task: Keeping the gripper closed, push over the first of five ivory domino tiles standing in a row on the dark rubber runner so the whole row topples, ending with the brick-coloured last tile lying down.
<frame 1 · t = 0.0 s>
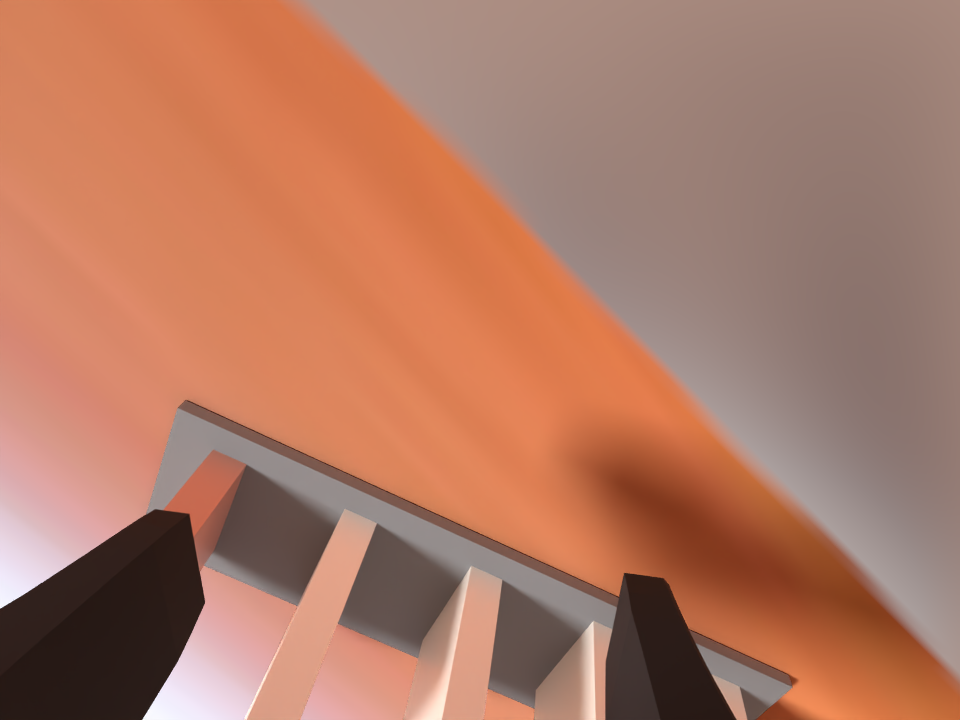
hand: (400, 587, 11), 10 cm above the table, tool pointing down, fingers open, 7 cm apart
tile4: (339, 557, 24), resting on runner
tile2: (577, 663, 25), resting on runner
runner: (462, 600, 25), on the table
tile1: (690, 713, 26), resting on runner
tile3: (460, 611, 25), resting on runner
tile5: (213, 501, 24), resting on runner
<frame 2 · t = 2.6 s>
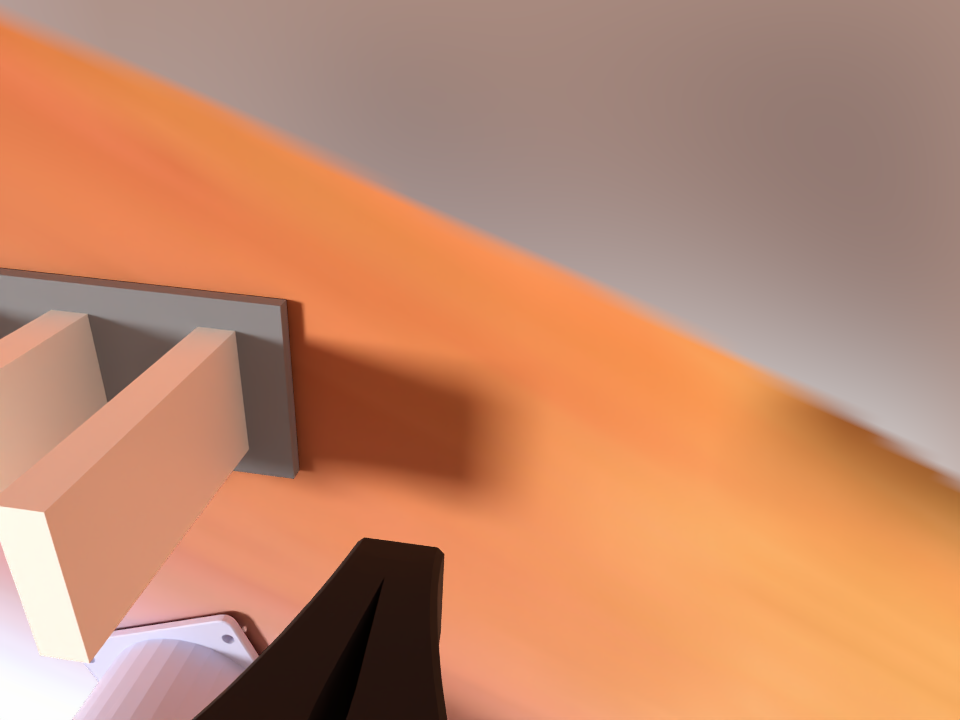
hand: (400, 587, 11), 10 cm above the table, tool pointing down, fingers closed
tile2: (84, 373, 22), resting on runner
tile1: (224, 390, 22), resting on runner
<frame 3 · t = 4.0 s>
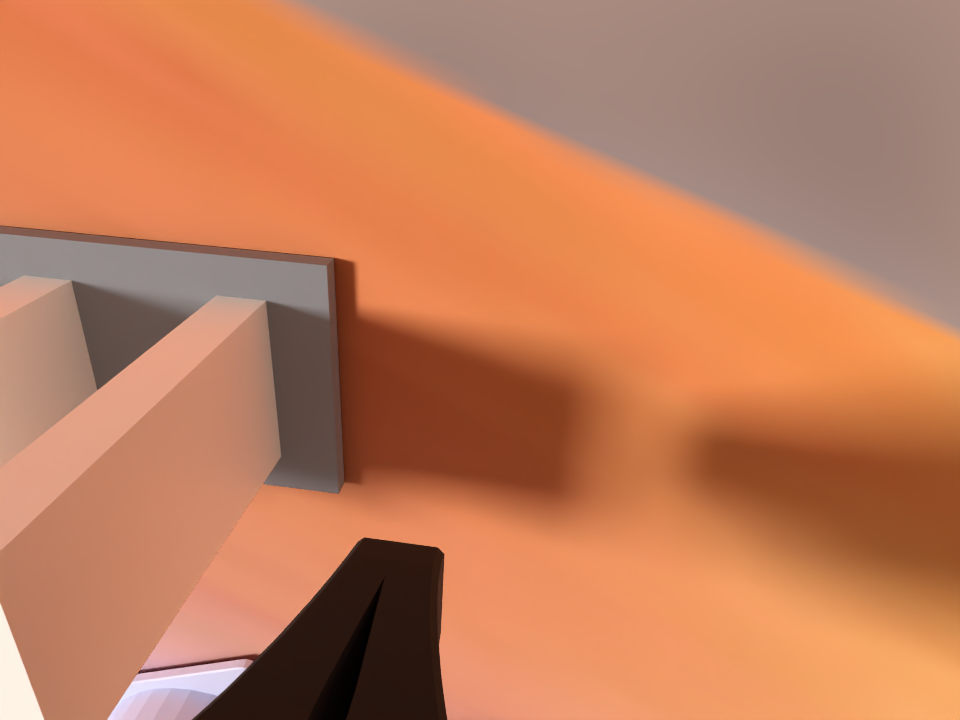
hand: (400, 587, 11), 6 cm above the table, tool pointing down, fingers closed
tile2: (68, 359, 17), resting on runner
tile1: (250, 380, 17), resting on runner
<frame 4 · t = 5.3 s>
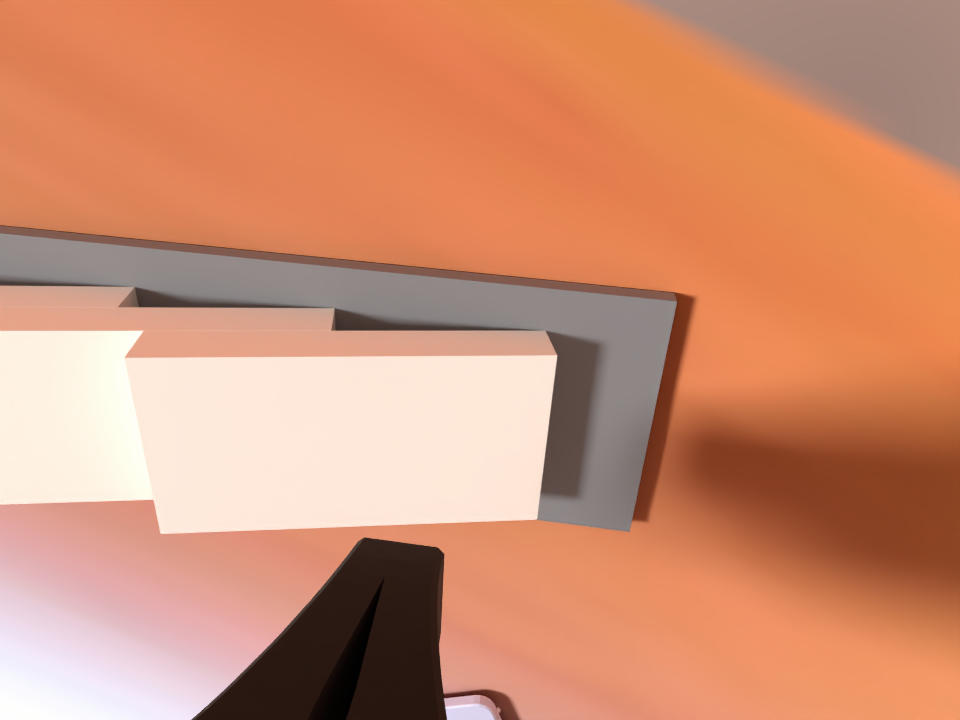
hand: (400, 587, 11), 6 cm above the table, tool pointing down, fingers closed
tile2: (336, 403, 16), point 1 cm above the table, tilted 76°, touching runner, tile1, tile3
runner: (186, 362, 18), on the table
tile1: (541, 427, 16), point 1 cm above the table, tilted 76°, touching runner, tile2
tile3: (142, 380, 17), point 1 cm above the table, tilted 76°, touching runner, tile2, tile4
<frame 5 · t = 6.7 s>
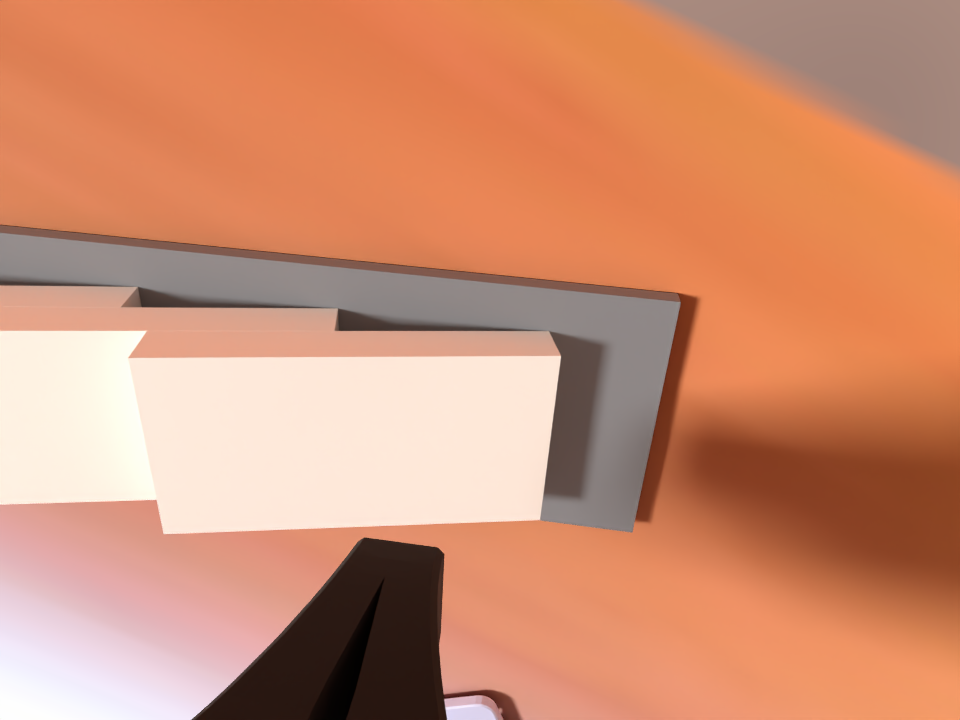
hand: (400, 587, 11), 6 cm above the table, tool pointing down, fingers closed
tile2: (339, 403, 16), point 1 cm above the table, tilted 76°, touching runner, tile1, tile3
runner: (189, 362, 18), on the table
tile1: (544, 428, 16), point 1 cm above the table, tilted 76°, touching runner, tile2
tile3: (145, 380, 17), point 1 cm above the table, tilted 76°, touching runner, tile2, tile4
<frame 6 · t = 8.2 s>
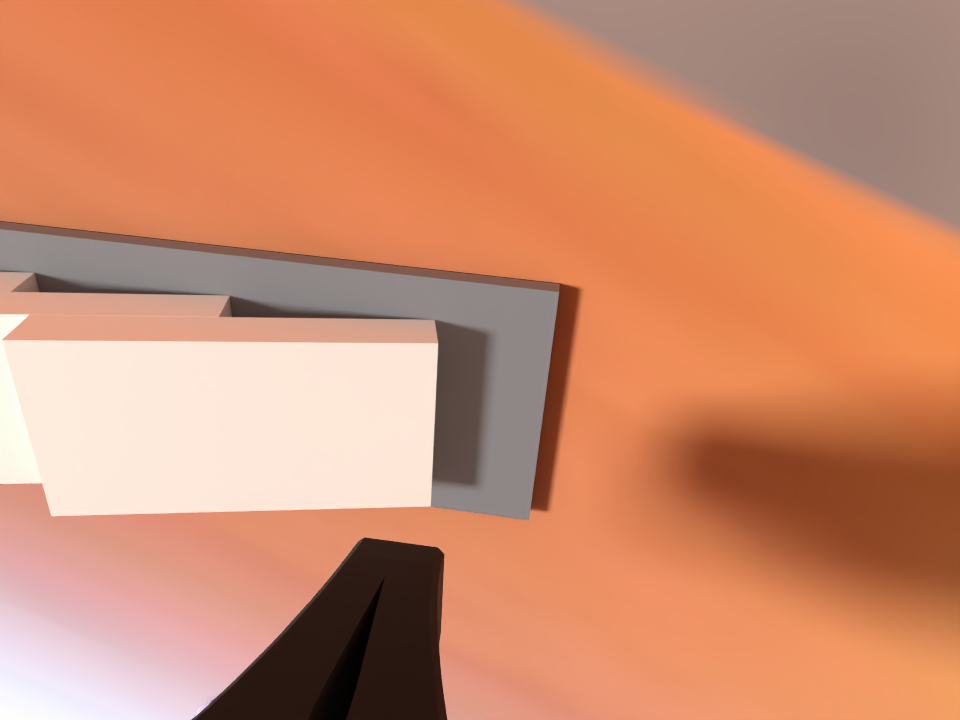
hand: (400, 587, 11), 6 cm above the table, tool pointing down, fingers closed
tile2: (233, 390, 16), point 1 cm above the table, tilted 76°, touching runner, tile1, tile3
runner: (93, 349, 18), on the table
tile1: (432, 415, 16), point 1 cm above the table, tilted 76°, touching runner, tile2
tile3: (44, 365, 17), point 1 cm above the table, tilted 76°, touching runner, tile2, tile4
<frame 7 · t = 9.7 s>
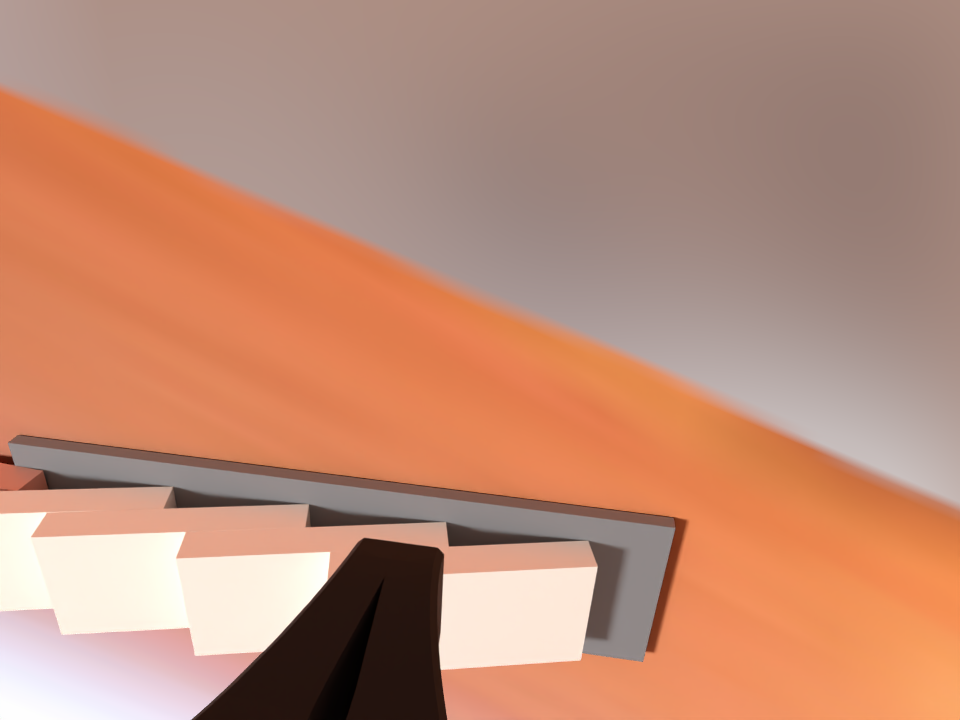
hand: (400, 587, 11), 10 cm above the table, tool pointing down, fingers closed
tile4: (177, 545, 25), point 1 cm above the table, tilted 76°, touching runner, tile3, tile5
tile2: (445, 582, 24), point 1 cm above the table, tilted 76°, touching runner, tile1, tile3
runner: (335, 544, 25), on the table
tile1: (584, 601, 24), point 1 cm above the table, tilted 76°, touching runner, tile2
tile3: (310, 563, 24), point 1 cm above the table, tilted 76°, touching runner, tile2, tile4
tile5: (45, 528, 25), point 1 cm above the table, tilted 94°, touching runner, tile4
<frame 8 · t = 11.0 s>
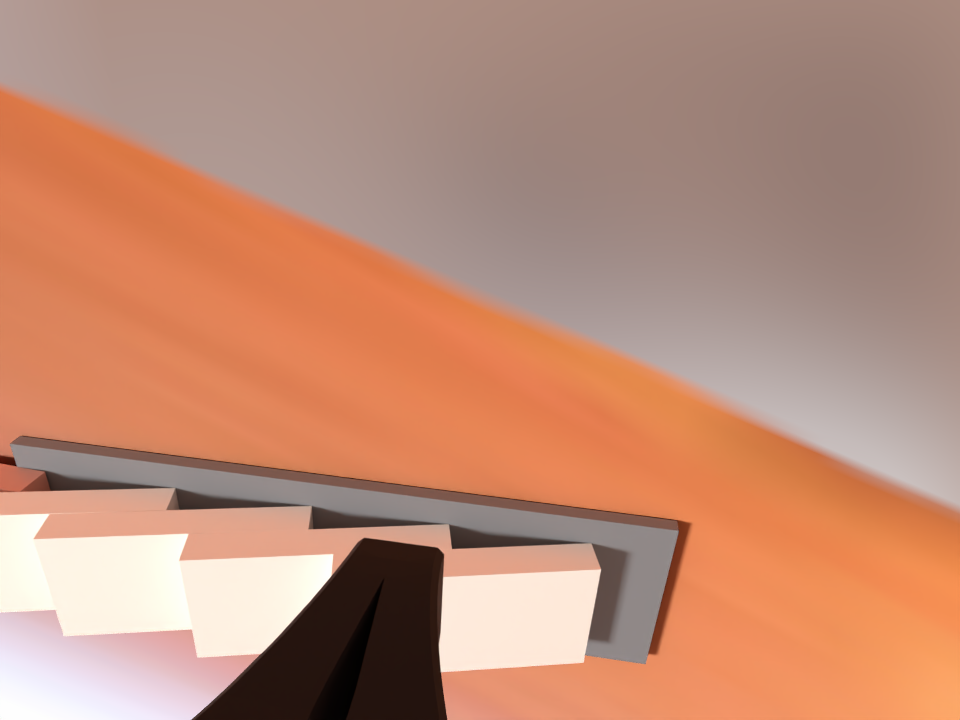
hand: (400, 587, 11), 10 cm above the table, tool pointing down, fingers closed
tile4: (179, 546, 25), point 1 cm above the table, tilted 76°, touching runner, tile3, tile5
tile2: (447, 584, 24), point 1 cm above the table, tilted 76°, touching runner, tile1, tile3
runner: (338, 546, 25), on the table
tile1: (587, 604, 24), point 1 cm above the table, tilted 76°, touching runner, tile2
tile3: (313, 565, 24), point 1 cm above the table, tilted 76°, touching runner, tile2, tile4
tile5: (47, 529, 25), point 1 cm above the table, tilted 94°, touching runner, tile4
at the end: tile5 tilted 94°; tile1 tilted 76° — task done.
